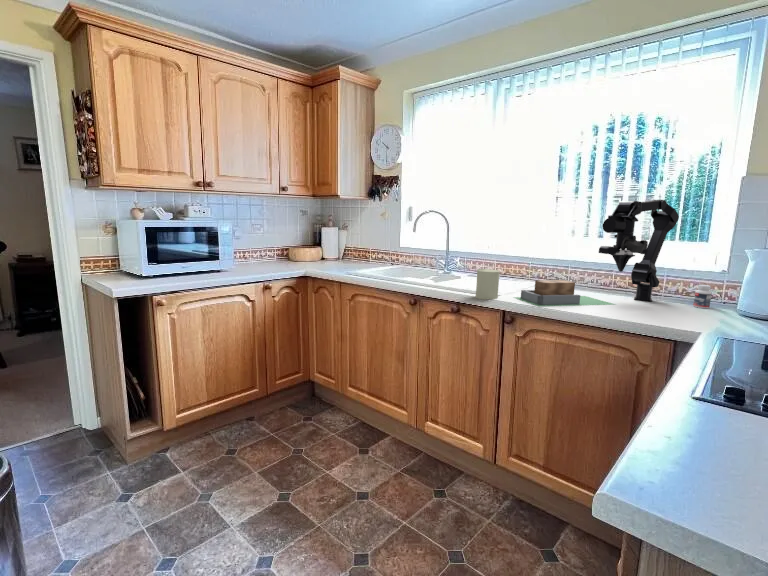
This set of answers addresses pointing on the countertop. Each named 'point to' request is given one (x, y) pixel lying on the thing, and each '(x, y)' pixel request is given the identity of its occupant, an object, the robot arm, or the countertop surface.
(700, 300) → the pill bottle
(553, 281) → the walnut block
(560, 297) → the grey tray
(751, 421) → the countertop surface
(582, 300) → the mat
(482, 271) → the can
